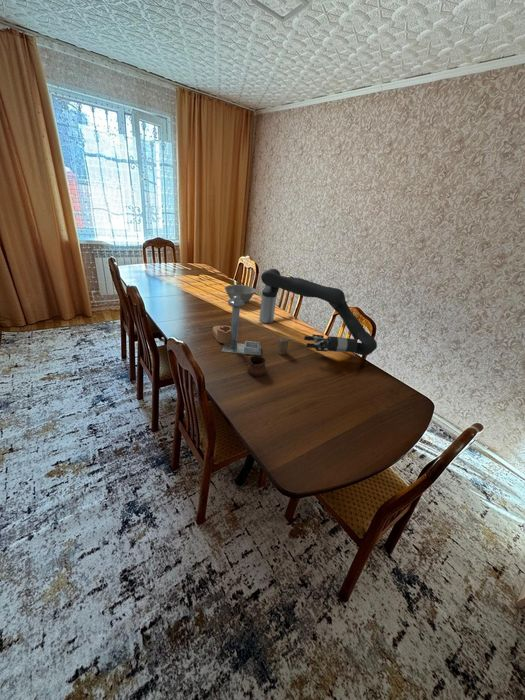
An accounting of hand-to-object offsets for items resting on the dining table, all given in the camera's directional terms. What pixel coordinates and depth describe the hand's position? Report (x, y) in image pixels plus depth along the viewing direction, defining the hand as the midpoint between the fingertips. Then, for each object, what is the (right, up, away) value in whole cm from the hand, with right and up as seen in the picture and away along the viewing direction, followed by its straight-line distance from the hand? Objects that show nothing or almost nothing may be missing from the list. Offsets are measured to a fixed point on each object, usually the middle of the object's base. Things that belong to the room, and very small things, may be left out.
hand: (305, 341), depth 147 cm
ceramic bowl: (-40, +31, +67) cm, 84 cm away
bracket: (-45, +3, +13) cm, 47 cm away
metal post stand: (-33, -4, +3) cm, 33 cm away
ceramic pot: (-25, -15, -15) cm, 33 cm away
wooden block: (-12, -6, +4) cm, 14 cm away
